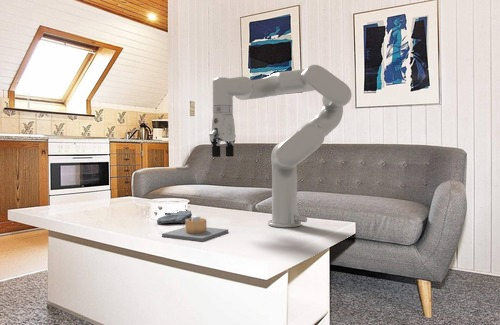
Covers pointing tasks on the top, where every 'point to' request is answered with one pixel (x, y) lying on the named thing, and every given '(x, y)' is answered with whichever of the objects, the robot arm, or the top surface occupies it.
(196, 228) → the ring
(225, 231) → the grey square base plate
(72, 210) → the top surface
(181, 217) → the fossil
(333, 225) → the top surface
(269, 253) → the top surface
